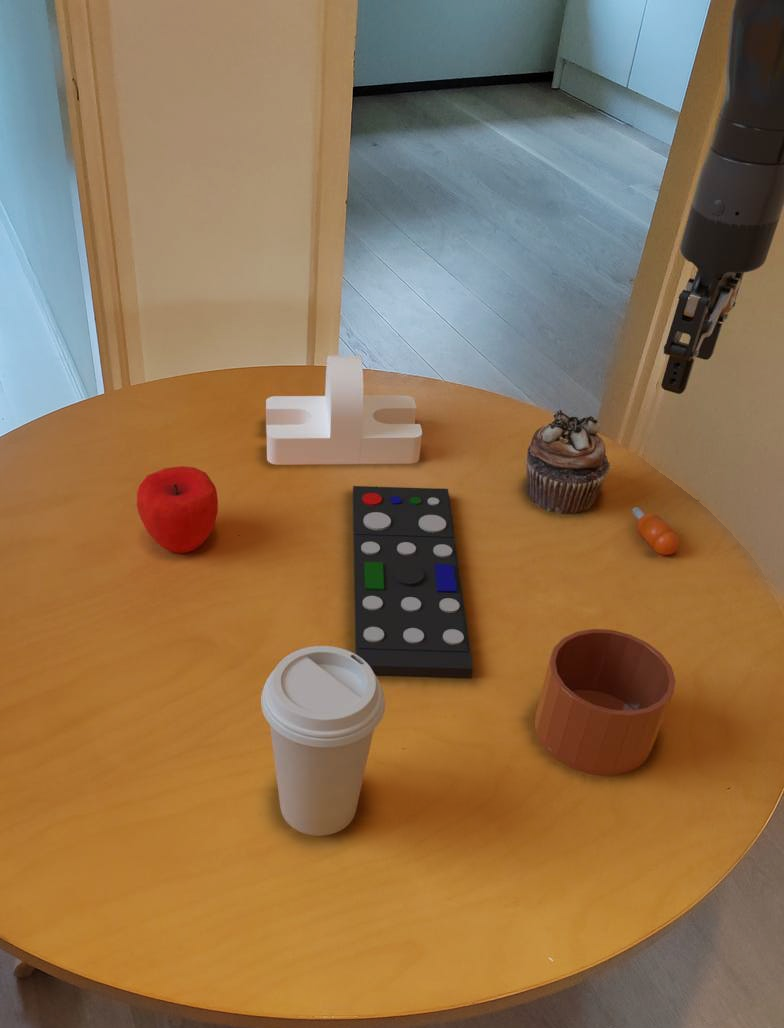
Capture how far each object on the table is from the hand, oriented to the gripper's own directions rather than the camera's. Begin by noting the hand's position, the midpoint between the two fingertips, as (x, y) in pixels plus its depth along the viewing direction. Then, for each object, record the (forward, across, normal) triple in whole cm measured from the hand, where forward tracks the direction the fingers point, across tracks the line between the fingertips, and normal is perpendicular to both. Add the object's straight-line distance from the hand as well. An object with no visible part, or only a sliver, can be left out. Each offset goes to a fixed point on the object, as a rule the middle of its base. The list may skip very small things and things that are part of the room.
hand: (686, 372), depth 101 cm
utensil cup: (+21, -30, -7) cm, 37 cm away
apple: (+21, -29, +42) cm, 56 cm away
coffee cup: (+21, -51, +10) cm, 56 cm away
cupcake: (+21, +4, +11) cm, 24 cm away
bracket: (+21, -1, +38) cm, 44 cm away
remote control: (+21, -20, +18) cm, 35 cm away
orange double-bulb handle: (+21, +2, -1) cm, 21 cm away
